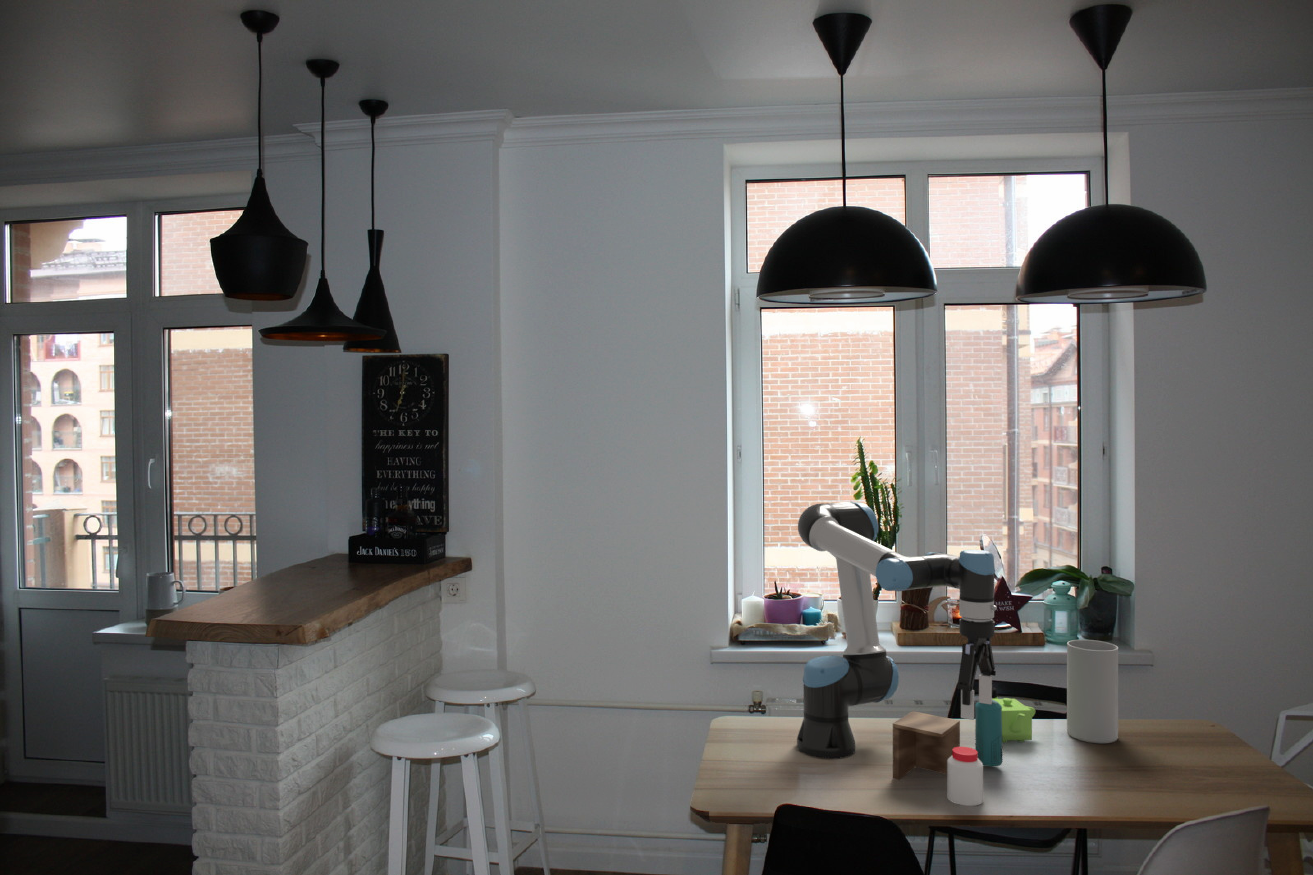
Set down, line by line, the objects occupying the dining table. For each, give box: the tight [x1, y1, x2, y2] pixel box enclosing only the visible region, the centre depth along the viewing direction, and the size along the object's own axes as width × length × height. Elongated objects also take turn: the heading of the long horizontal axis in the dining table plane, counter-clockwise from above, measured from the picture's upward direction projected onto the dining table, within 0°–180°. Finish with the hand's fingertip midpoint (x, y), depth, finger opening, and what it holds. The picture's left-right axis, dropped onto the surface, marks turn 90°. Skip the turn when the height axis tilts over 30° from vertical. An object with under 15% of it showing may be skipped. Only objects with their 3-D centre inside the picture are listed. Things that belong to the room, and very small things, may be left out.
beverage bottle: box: [974, 686, 1004, 767], centre depth 220 cm, size 6×7×20 cm
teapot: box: [992, 696, 1036, 743], centre depth 242 cm, size 15×13×11 cm
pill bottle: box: [946, 746, 984, 807], centre depth 202 cm, size 8×8×11 cm
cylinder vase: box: [1066, 639, 1119, 744], centre depth 242 cm, size 12×12×25 cm
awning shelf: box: [892, 710, 961, 781], centre depth 215 cm, size 12×12×13 cm
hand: (976, 710), depth 204 cm, fingers open, 13 cm apart
